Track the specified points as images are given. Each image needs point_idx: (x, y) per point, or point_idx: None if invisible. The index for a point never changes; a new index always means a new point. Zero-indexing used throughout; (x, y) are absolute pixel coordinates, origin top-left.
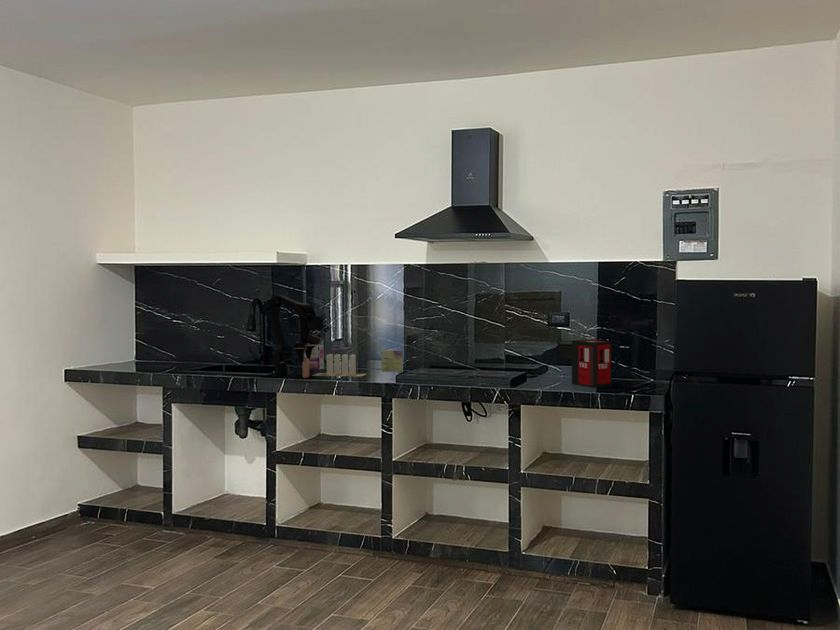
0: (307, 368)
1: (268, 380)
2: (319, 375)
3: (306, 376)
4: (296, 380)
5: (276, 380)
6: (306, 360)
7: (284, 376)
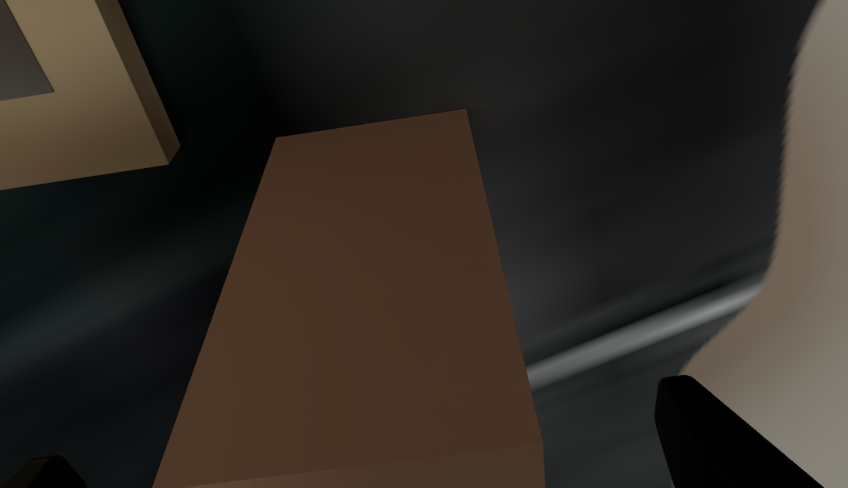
0: (349, 242)
1: (638, 466)
2: (54, 7)
3: (426, 139)
4: (603, 198)
5: (630, 408)
6: (418, 409)
7: None
